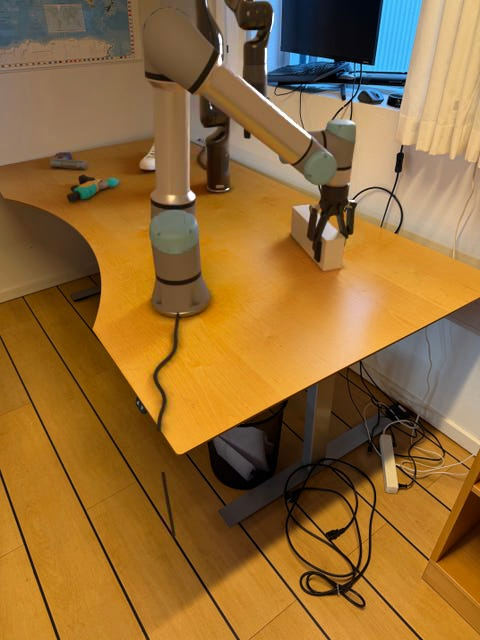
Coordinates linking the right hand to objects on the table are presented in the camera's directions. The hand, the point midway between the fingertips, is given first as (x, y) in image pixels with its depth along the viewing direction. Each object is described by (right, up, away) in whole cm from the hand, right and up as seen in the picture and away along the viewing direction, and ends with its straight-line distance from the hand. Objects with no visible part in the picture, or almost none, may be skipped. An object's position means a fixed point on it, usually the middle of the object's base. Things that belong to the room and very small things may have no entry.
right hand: (254, 135), depth 154 cm
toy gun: (-82, +11, +64) cm, 105 cm away
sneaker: (-42, +11, +64) cm, 77 cm away
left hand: (+21, -42, -13) cm, 49 cm away
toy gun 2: (-67, -9, +36) cm, 76 cm away
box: (+19, -38, -5) cm, 43 cm away
